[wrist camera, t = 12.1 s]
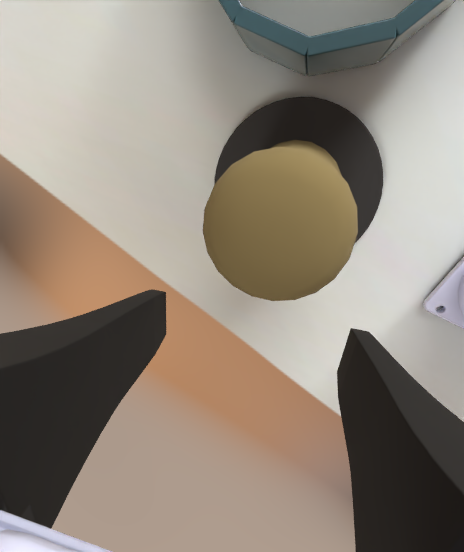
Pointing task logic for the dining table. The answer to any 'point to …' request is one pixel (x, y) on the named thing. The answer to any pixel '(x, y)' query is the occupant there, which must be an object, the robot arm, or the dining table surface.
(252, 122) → the black mat
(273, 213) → the tan game pawn
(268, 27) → the teal hollow ring
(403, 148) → the dining table surface
